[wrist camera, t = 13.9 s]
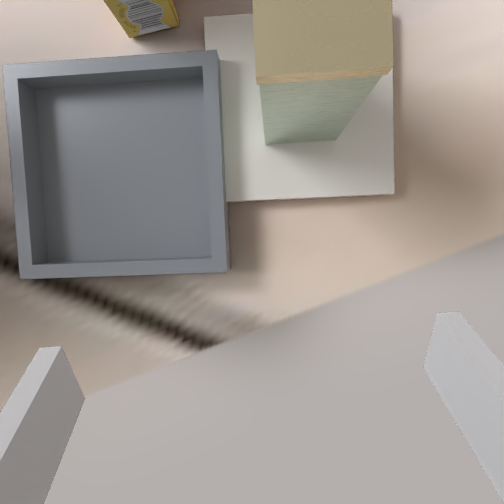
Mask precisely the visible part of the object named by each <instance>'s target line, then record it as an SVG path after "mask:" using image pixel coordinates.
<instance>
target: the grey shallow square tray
mask: <svg viewBox="0 0 504 504" xmlns="http://www.w3.org/2000/svg"><path fill="white" fill-rule="evenodd" d="M2 68H3V80H4V92H5V104H6V116H7V128H8V140H9V152H10V164H11V177H12V189H13V201H14V213H15V225H16V237H17V249H18V261H19V273H20V279H42V278H71V277H100V276H129V275H158V274H187V273H216V272H227V271H228V270H230V269H231V258H230V236H229V214H228V202H227V201H226V185H225V163H224V141H223V119H222V97H221V75H220V59H219V56H218V53H217V49H216V50H202V51H188V52H174V53H160V54H146V55H132V56H118V57H104V58H90V59H76V60H62V61H48V62H34V63H20V64H6V65H2Z"/></svg>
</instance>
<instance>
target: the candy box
mask: <svg viewBox="0 0 504 504" xmlns="http://www.w3.org/2000/svg"><path fill="white" fill-rule="evenodd" d="M104 2H105V3H106V5H107V6H108V7H109V9H110V10H111V12H112V13H113V15H114V16H115V17H116V19H117V20H118V22H119V23H120V25H121V26H122V28H123V29H124V30H125V32H126V33H127V35H128V36H129V37H130V38H133V37H137V36H141V35H144V34H148V33H152V32H155V31H159V30H163V29H167V28H171V27H176V26H178V25H179V20H178V16H177V12H176V8H175V4H174V0H104Z"/></svg>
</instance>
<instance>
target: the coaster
mask: <svg viewBox="0 0 504 504" xmlns="http://www.w3.org/2000/svg"><path fill="white" fill-rule="evenodd" d="M204 33H205V50H216V49H217V53H218V56H219V59H220V75H221V97H222V119H223V141H224V163H225V185H226V201H227V202H245V201H267V200H288V199H310V198H332V197H354V196H375V195H391V194H395V184H394V122H393V68H392V69H391V71H390V72H389V73H388V75H382V77H381V78H380V80H379V81H378V82H377V84H376V85H375V87H374V88H373V89H372V91H371V92H370V94H369V95H368V96H367V98H366V99H365V101H364V102H363V103H362V105H361V106H360V107H359V109H358V110H357V112H356V113H355V114H354V116H353V117H352V119H351V120H350V121H349V123H348V124H347V126H346V127H345V128H344V130H343V131H342V133H341V134H340V135H339V137H338V138H337V139H336V140H333V141H317V142H302V143H286V144H270V145H265V137H264V127H263V117H262V107H261V97H260V86H259V85H257V83H256V70H255V50H254V29H253V13H247V14H234V15H221V16H208V17H204Z"/></svg>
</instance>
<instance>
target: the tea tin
mask: <svg viewBox="0 0 504 504" xmlns="http://www.w3.org/2000/svg"><path fill="white" fill-rule="evenodd" d="M252 8H253V29H254V50H255V70H256V83H257V85H259V86H260V97H261V107H262V117H263V127H264V137H265V145H270V144H286V143H302V142H317V141H333V140H336V139H337V138H338V137H339V135H340V134H341V133H342V131H343V130H344V128H345V127H346V126H347V124H348V123H349V121H350V120H351V119H352V117H353V116H354V114H355V113H356V112H357V110H358V109H359V107H360V106H361V105H362V103H363V102H364V101H365V99H366V98H367V96H368V95H369V94H370V92H371V91H372V89H373V88H374V87H375V85H376V84H377V82H378V81H379V80H380V78H381V77H382V75H388V73H389V72H390V71H391V69H392V68H393V67H394V60H393V19H392V0H252Z"/></svg>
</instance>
